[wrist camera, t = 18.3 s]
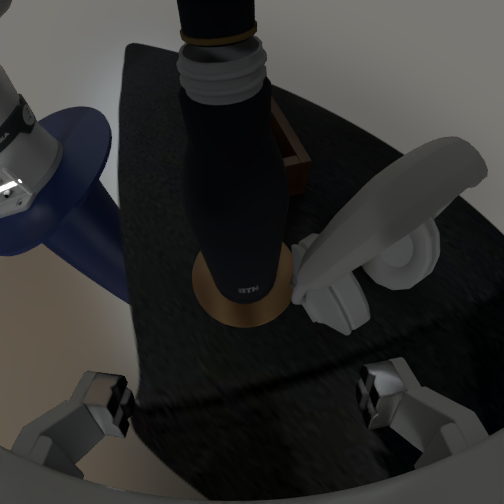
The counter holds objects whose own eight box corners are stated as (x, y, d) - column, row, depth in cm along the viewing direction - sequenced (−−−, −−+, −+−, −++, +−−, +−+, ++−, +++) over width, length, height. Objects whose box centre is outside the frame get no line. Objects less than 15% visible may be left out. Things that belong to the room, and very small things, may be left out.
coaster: (208, 341, 28) (207, 340, 28) (182, 245, 33) (182, 243, 32) (312, 307, 30) (313, 306, 29) (276, 217, 34) (276, 215, 33)
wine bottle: (245, 234, 33) (221, -91, 5) (288, 274, 31) (366, -85, 3) (201, 274, 31) (67, -57, 3) (244, 317, 29) (171, -108, 1)
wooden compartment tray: (225, 214, 34) (219, 183, 29) (193, 117, 41) (187, 86, 36) (304, 192, 35) (311, 160, 30) (255, 102, 42) (255, 72, 37)
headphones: (387, 211, 34) (463, 85, 16) (430, 270, 31) (541, 173, 12) (257, 283, 31) (256, 144, 12) (302, 360, 27) (387, 330, 9)
